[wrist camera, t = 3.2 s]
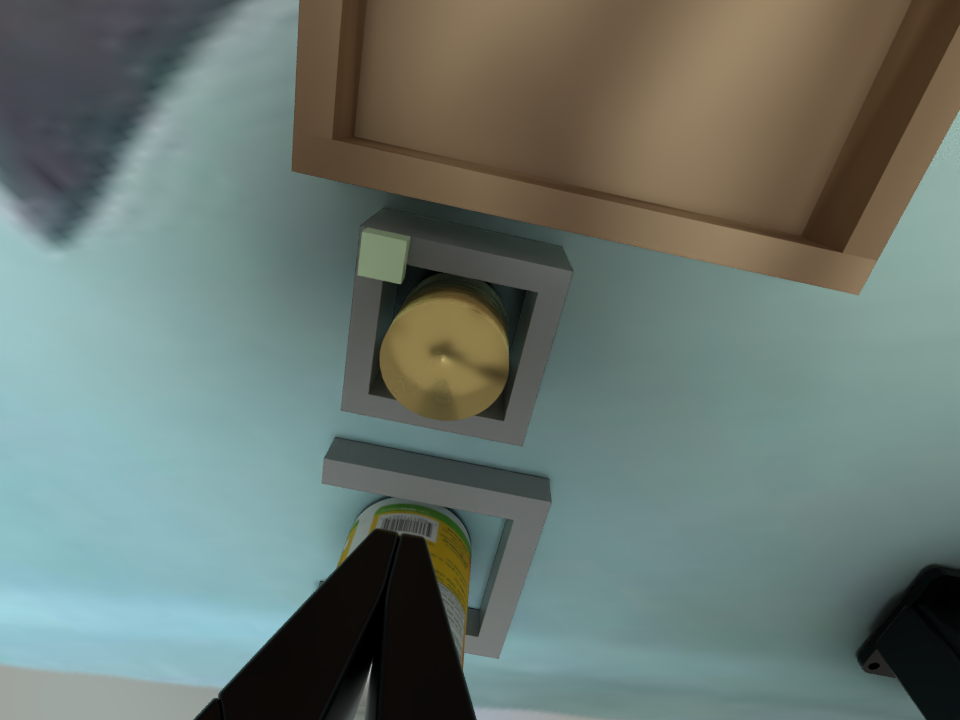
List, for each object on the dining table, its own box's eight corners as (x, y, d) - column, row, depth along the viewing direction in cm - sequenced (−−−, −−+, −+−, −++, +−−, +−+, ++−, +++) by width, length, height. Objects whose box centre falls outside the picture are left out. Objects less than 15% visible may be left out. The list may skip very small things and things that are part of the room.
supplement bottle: (402, 600, 25) (345, 868, 16) (325, 526, 23) (215, 782, 14) (496, 554, 23) (490, 822, 14) (422, 472, 21) (365, 720, 13)
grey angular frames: (621, 259, 17) (647, 292, 14) (498, 631, 25) (497, 707, 22) (359, 202, 17) (324, 223, 14) (318, 599, 25) (290, 672, 22)
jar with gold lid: (519, 285, 16) (522, 319, 14) (495, 383, 18) (493, 431, 15) (407, 261, 16) (388, 290, 14) (392, 362, 18) (372, 407, 15)
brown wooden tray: (971, -68, 13) (1079, -111, 11) (806, 268, 17) (858, 295, 15) (352, -227, 13) (314, -313, 10) (324, 162, 16) (291, 170, 14)
